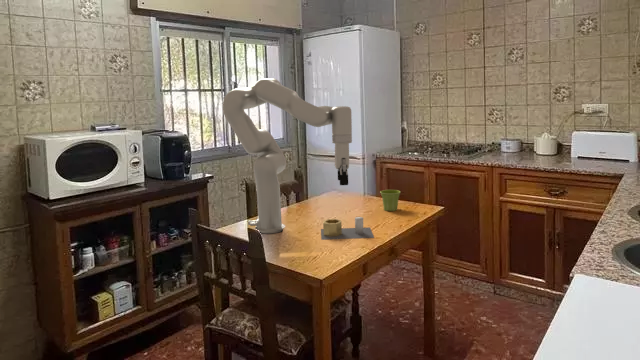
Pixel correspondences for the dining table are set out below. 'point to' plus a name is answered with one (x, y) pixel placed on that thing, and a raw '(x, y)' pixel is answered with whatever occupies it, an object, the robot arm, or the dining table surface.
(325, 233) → the brass ring
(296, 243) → the dining table surface
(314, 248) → the dining table surface
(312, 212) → the dining table surface
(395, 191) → the plant pot
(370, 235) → the piston stand
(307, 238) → the dining table surface
